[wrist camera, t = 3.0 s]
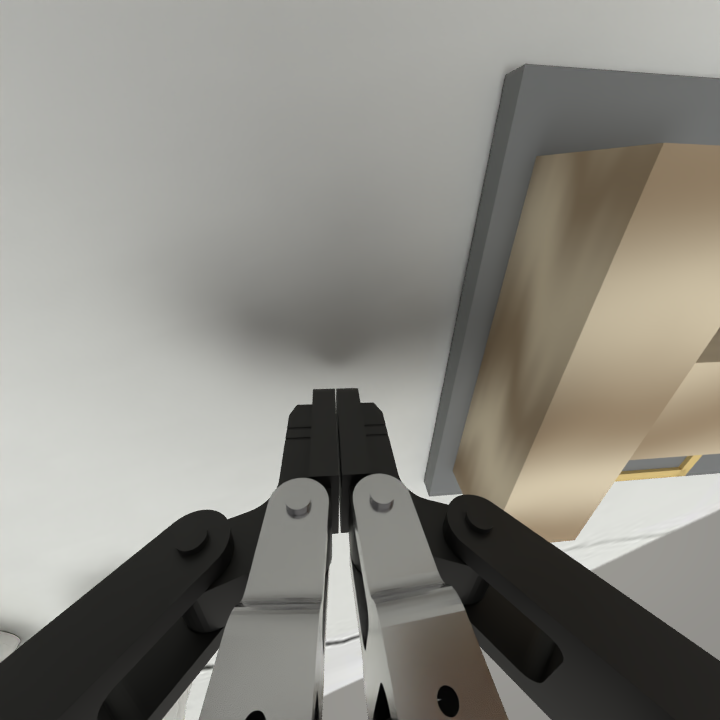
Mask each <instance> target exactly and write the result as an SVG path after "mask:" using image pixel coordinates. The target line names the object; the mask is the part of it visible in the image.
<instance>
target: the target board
mask: <svg viewBox="0 0 720 720" xmlns="http://www.w3.org/2000/svg"><path fill="white" fill-rule="evenodd" d="M657 143H678V144H698V145H719V146H720V78H706V77H693V76H680V75H666V74H653V73H640V72H626V71H613V70H599V69H586V68H573V67H559V66H546V65H533V64H524V65H523V66H521V67H519V68H517V69H516V70H514V71H512V72H510V73H509V74H507V75H506V77H505V82H504V87H503V92H502V97H501V102H500V107H499V112H498V117H497V122H496V127H495V132H494V137H493V142H492V147H491V152H490V156H489V161H488V166H487V171H486V176H485V181H484V186H483V191H482V196H481V201H480V206H479V211H478V216H477V221H476V226H475V231H474V236H473V241H472V246H471V251H470V256H469V261H468V266H467V271H466V276H465V281H464V286H463V291H462V296H461V300H460V305H459V310H458V315H457V320H456V325H455V330H454V335H453V340H452V345H451V350H450V355H449V360H448V365H447V370H446V375H445V380H444V385H443V390H442V395H441V400H440V405H439V410H438V415H437V420H436V425H435V430H434V435H433V440H432V444H431V449H430V454H429V459H428V464H427V469H426V474H425V479H424V483H425V486H426V489H427V492H428V495H429V496H441V495H453V494H463V493H462V491H461V489H460V487H459V484H458V482H457V480H456V478H455V475H454V473H453V468H454V464H455V460H456V457H457V453H458V449H459V445H460V442H461V438H462V434H463V430H464V427H465V423H466V419H467V415H468V412H469V408H470V404H471V400H472V397H473V393H474V389H475V385H476V382H477V378H478V374H479V370H480V367H481V363H482V359H483V355H484V352H485V348H486V344H487V340H488V337H489V333H490V329H491V325H492V322H493V318H494V314H495V310H496V307H497V303H498V299H499V295H500V291H501V288H502V284H503V280H504V276H505V273H506V269H507V265H508V261H509V258H510V254H511V250H512V246H513V243H514V239H515V235H516V231H517V228H518V224H519V220H520V216H521V213H522V209H523V205H524V201H525V198H526V194H527V190H528V186H529V183H530V179H531V175H532V171H533V168H534V164H535V160H536V156H544V155H553V154H563V153H572V152H582V151H591V150H601V149H610V148H620V147H629V146H638V145H648V144H657ZM714 473H720V454H708V455H694V456H680V457H666V458H653V459H639V460H629V461H628V463H627V464H626V465H625V467H624V468H623V470H622V471H621V473H620V474H619V476H618V477H617V479H616V480H615V481H627V480H640V479H652V478H664V477H677V476H689V475H702V474H714Z"/></svg>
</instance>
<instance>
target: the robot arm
mask: <svg viewBox="0 0 720 720" xmlns="http://www.w3.org/2000/svg"><path fill="white" fill-rule="evenodd" d="M339 505H340V526H341V533H347V532H349V542H350V570H351V577H352V585H353V592H354V599H355V606H356V614H357V621H358V628H359V635H360V643H361V650H362V660H363V677H364V688H365V697H366V705H367V713H368V720H508V718H507V715H506V712H505V710H504V707H503V705H502V702H501V699H500V697H499V694H498V692H497V689H496V687H495V684H494V682H493V679H492V677H491V674H490V672H489V669H488V667H487V664H486V662H485V659H484V656H483V655H482V651H481V649H480V647H481V648H482V649H483V650H484V651H485V652H486V653H487V654H488V655H489V656H490V657H491V658H492V659H493V660H494V661H495V662H496V663H497V664H498V665H499V666H500V667H501V668H502V669H503V671H504V672H505V673H506V674H507V675H508V676H509V677H510V678H511V679H512V680H513V681H514V682H515V683H516V684H517V685H518V686H519V687H520V688H521V689H522V690H523V691H524V692H525V693H526V694H527V695H528V696H529V697H530V698H531V699H532V700H533V701H534V702H535V703H536V704H537V705H538V706H539V707H540V709H542V710H543V712H544V713H546V715H548V717H549V718H550V719H552V720H720V661H719V660H718V659H716V658H715V657H713V656H712V655H710V654H709V653H708V652H706V651H705V650H703V649H702V648H700V647H699V646H697V645H696V644H695V643H693V642H692V641H690V640H689V639H687V638H686V637H685V636H683V635H682V634H680V633H679V632H677V631H676V630H675V629H673V628H672V627H670V626H669V625H667V624H666V623H665V622H663V621H662V620H660V619H659V618H657V617H656V616H654V615H653V614H652V613H650V612H649V611H647V610H646V609H644V608H643V607H642V606H640V605H639V604H637V603H636V602H634V601H633V600H632V599H630V598H629V597H627V596H626V595H624V594H623V593H621V592H620V591H619V590H617V589H616V588H614V587H613V586H611V585H610V584H609V583H607V582H606V581H604V580H603V579H601V578H600V577H599V576H597V575H596V574H594V573H593V572H591V571H590V570H588V569H587V568H586V567H584V566H583V565H581V564H580V563H578V562H577V561H576V560H574V559H573V558H571V557H570V556H568V555H567V554H566V553H564V552H563V551H561V550H560V549H558V548H557V547H555V546H554V545H553V544H551V543H550V542H548V541H547V540H545V539H544V538H543V537H541V536H540V535H538V534H537V533H535V532H534V531H533V530H531V529H530V528H528V527H527V526H525V525H524V524H522V523H521V522H520V521H518V520H517V519H515V518H514V517H512V516H511V515H510V514H508V513H507V512H505V511H504V510H502V509H501V508H499V507H498V506H497V505H495V504H494V503H492V502H491V501H489V500H487V499H485V498H483V497H480V496H477V495H470V494H466V495H461V496H458V497H456V498H454V499H453V500H452V501H451V502H450V504H449V505H447V504H443V503H439V502H435V501H431V500H427V499H424V498H421V497H419V496H417V495H415V494H414V493H412V492H411V491H409V490H408V489H407V488H406V486H405V485H404V484H403V483H402V482H401V480H400V478H399V475H398V472H397V468H396V464H395V460H394V456H393V452H392V448H391V444H390V440H389V437H388V433H387V429H386V426H385V421H384V417H383V413H382V411H381V410H380V409H379V408H378V407H377V406H376V405H375V404H374V403H360V398H359V392H358V388H346V389H336V403H335V389H313V402H312V404H311V405H297V406H296V407H295V408H294V410H293V411H292V412H291V414H290V415H289V419H288V426H287V433H286V441H285V446H284V452H283V459H282V465H281V472H280V479H279V483H278V486H277V489H276V490H275V491H274V492H273V493H272V495H271V497H270V498H269V499H268V500H267V501H266V502H265V503H264V504H262V505H261V506H259V507H258V508H256V509H254V510H252V511H249V512H247V513H244V514H241V515H238V516H236V517H233V518H230V519H227V518H226V517H225V516H224V515H223V514H221V513H220V512H217V511H214V510H200V511H196V512H192V513H190V514H188V515H185V516H184V517H182V518H180V519H179V520H177V521H176V522H174V523H173V524H172V525H171V526H169V527H168V528H167V529H166V530H164V531H163V532H162V533H161V534H159V535H158V536H157V537H156V538H154V539H153V540H152V541H151V542H149V543H148V544H147V545H146V546H145V547H143V548H142V549H141V550H140V551H138V552H137V553H136V554H135V555H133V556H132V557H131V558H130V559H128V560H127V561H126V562H125V563H123V564H122V565H121V566H120V567H118V568H117V569H116V570H115V571H113V572H112V573H111V574H110V575H109V576H107V577H106V578H105V579H104V580H102V581H101V582H100V583H99V584H97V585H96V586H95V587H94V588H92V589H91V590H90V591H89V592H87V593H86V594H85V595H84V596H82V597H81V598H80V599H79V600H77V601H76V602H75V603H74V604H72V605H71V606H70V607H69V608H68V609H66V610H65V611H64V612H63V613H61V614H60V615H59V616H58V617H56V618H55V619H54V620H53V621H51V622H50V623H49V624H48V625H46V626H45V627H44V628H43V629H41V630H40V631H39V632H38V633H36V634H35V635H34V636H33V637H31V638H30V639H29V640H28V641H27V642H25V643H24V644H23V645H22V646H20V647H19V648H18V649H17V650H15V651H14V652H13V653H12V654H10V655H9V656H8V657H7V658H5V659H4V660H3V661H2V662H0V720H162V719H163V718H164V717H165V715H166V714H167V713H168V712H169V710H170V709H171V708H172V707H173V705H174V704H175V703H176V702H177V700H178V699H179V698H180V696H181V695H182V694H183V693H184V691H185V690H186V689H187V688H188V686H189V685H190V684H191V683H192V681H193V680H194V679H195V678H196V676H197V675H198V674H199V673H200V671H201V670H202V669H203V668H204V666H205V665H206V664H207V663H208V661H209V660H210V659H211V658H212V656H213V655H214V654H215V653H216V651H217V650H218V649H219V650H218V654H217V657H216V661H215V665H214V668H213V672H212V675H211V679H210V682H209V686H208V689H207V693H206V696H205V700H204V703H203V707H202V710H201V714H200V717H199V720H322V710H323V688H324V658H325V639H326V621H327V603H328V585H329V566H330V563H331V559H332V534H336V533H338V527H339Z"/></svg>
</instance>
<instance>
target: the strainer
mask: <svg viewBox="0 0 720 720" xmlns="http://www.w3.org/2000/svg"><path fill="white" fill-rule="evenodd" d="M19 643H20V639H19V638H18V637H17V636H15V635H13V634H10V633H7V632H2V631H0V662H2V661H3V660H4V659H5V658H7V657H8V656H9V655H10V654H12V653H13V652H14V650H15V649H16V647H17V646H18V644H19Z"/></svg>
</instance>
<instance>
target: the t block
mask: <svg viewBox="0 0 720 720" xmlns="http://www.w3.org/2000/svg"><path fill="white" fill-rule="evenodd" d="M708 454H720V146H719V145H698V144H678V143H657V144H648V145H638V146H629V147H620V148H610V149H601V150H591V151H582V152H572V153H563V154H553V155H544V156H536V160H535V164H534V168H533V171H532V175H531V179H530V183H529V186H528V190H527V194H526V198H525V201H524V205H523V209H522V213H521V216H520V220H519V224H518V228H517V231H516V235H515V239H514V243H513V246H512V250H511V254H510V258H509V261H508V265H507V269H506V273H505V276H504V280H503V284H502V288H501V291H500V295H499V299H498V303H497V307H496V310H495V314H494V318H493V322H492V325H491V329H490V333H489V337H488V340H487V344H486V348H485V352H484V355H483V359H482V363H481V367H480V370H479V374H478V378H477V382H476V385H475V389H474V393H473V397H472V400H471V404H470V408H469V412H468V415H467V419H466V423H465V427H464V430H463V434H462V438H461V442H460V445H459V449H458V453H457V457H456V460H455V464H454V468H453V473H454V475H455V478H456V480H457V482H458V484H459V487H460V489H461V491H462V493H463V495H466V494H470V495H477V496H480V497H483V498H485V499H487V500H489V501H491V502H492V503H494V504H495V505H497V506H498V507H499V508H501V509H502V510H504V511H505V512H507V513H508V514H510V515H511V516H512V517H514V518H515V519H517V520H518V521H520V522H521V523H522V524H524V525H525V526H527V527H528V528H530V529H531V530H533V531H534V532H535V533H537V534H538V535H540V536H541V537H543V538H544V539H545V540H547V541H548V542H560V541H570V540H575V539H576V537H577V536H578V534H579V533H580V531H581V530H582V529H583V527H584V526H585V524H586V523H587V521H588V520H589V518H590V517H591V515H592V514H593V512H594V511H595V509H596V508H597V507H598V505H599V504H600V502H601V501H602V499H603V498H604V496H605V495H606V493H607V492H608V490H609V489H610V487H611V486H612V485H613V483H614V482H615V480H616V479H617V477H618V476H619V474H620V473H621V471H622V470H623V468H624V467H625V465H626V464H627V463H628V461H629V460H639V459H653V458H666V457H680V456H694V455H708Z"/></svg>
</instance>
